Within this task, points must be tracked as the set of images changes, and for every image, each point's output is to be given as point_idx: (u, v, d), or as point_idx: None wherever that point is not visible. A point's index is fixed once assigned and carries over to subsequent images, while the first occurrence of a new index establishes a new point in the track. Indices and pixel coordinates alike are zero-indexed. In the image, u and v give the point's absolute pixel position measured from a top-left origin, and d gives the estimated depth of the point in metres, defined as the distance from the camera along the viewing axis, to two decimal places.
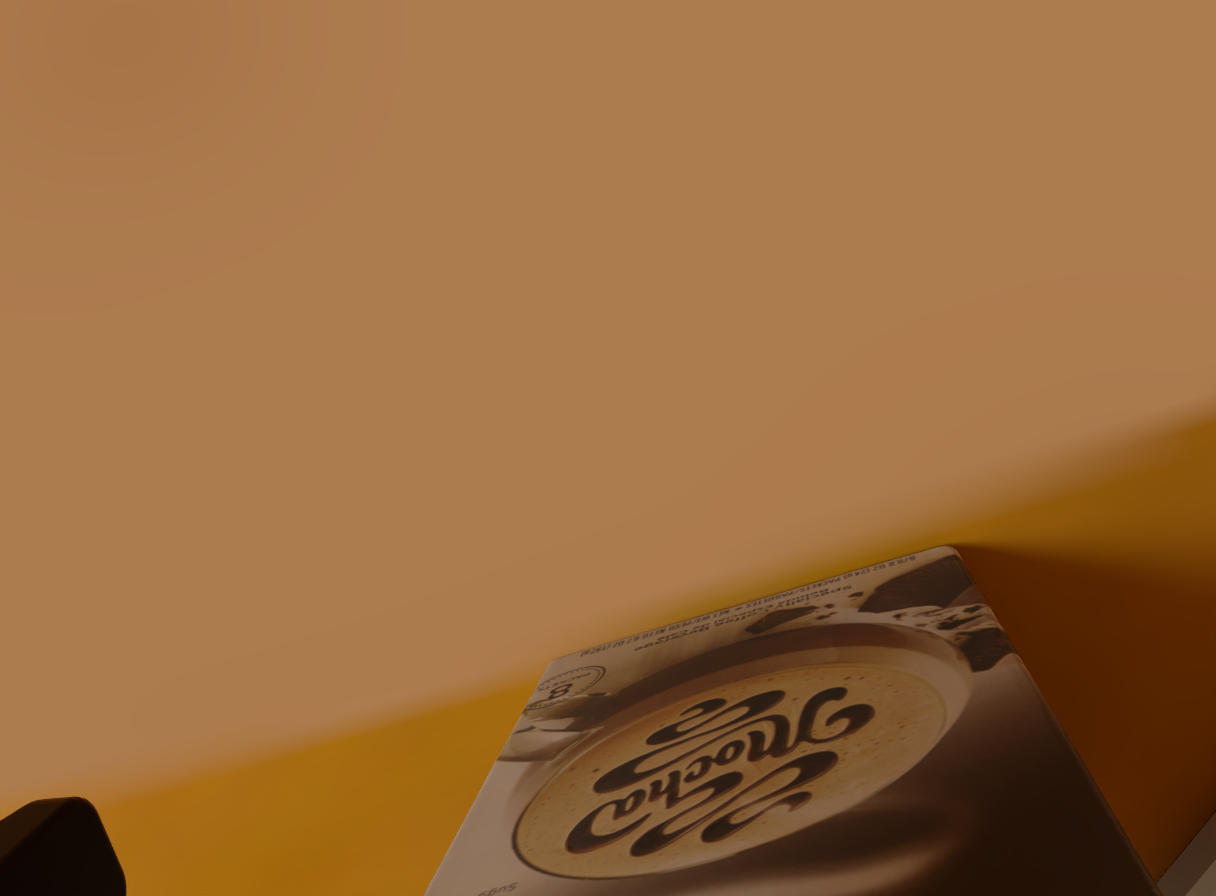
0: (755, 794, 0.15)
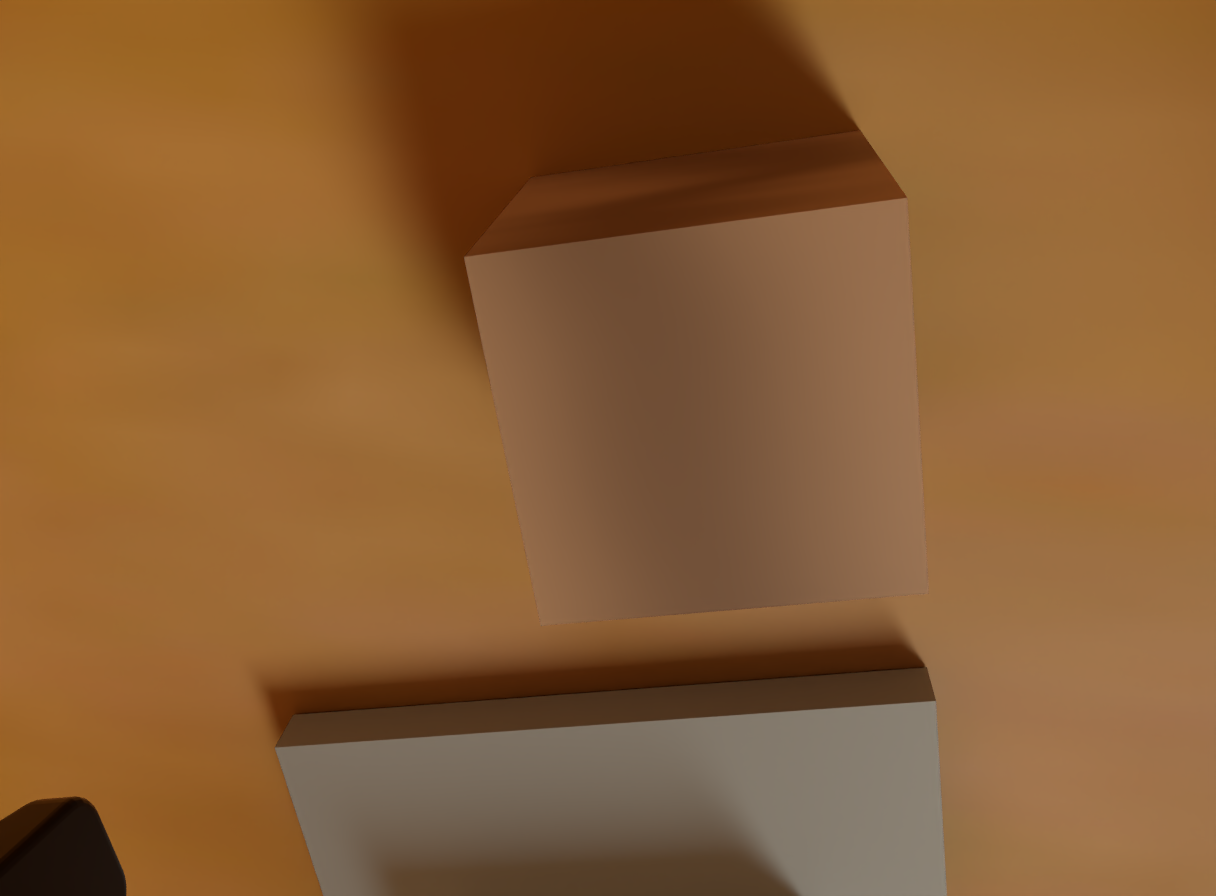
0: None
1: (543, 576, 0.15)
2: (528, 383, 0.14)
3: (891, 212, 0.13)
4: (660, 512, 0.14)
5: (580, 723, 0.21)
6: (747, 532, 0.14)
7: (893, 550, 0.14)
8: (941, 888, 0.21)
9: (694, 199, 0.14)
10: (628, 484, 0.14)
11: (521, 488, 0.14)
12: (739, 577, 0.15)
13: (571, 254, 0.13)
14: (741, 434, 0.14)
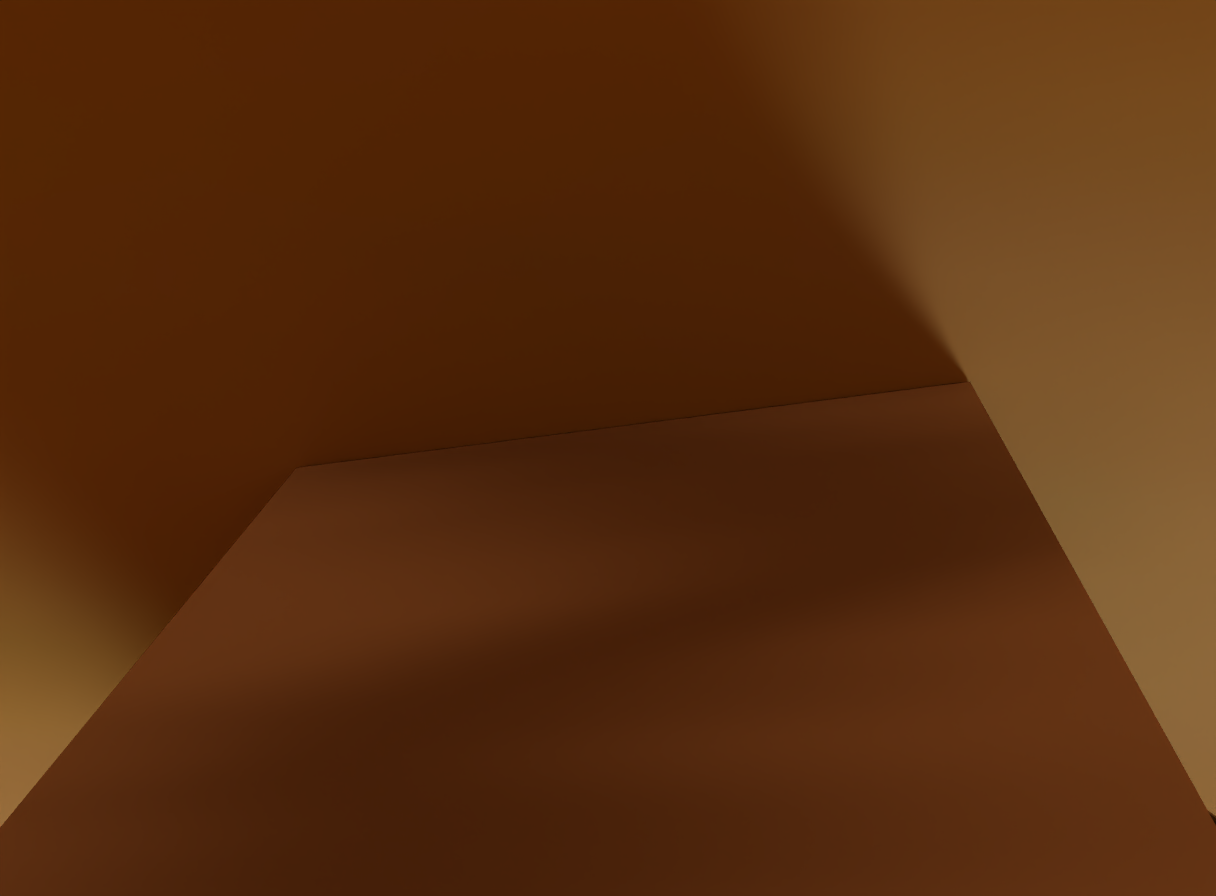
0: None
1: None
2: None
3: None
4: None
5: None
6: None
7: None
8: None
9: (577, 721, 0.05)
10: None
11: None
12: None
13: None
14: None
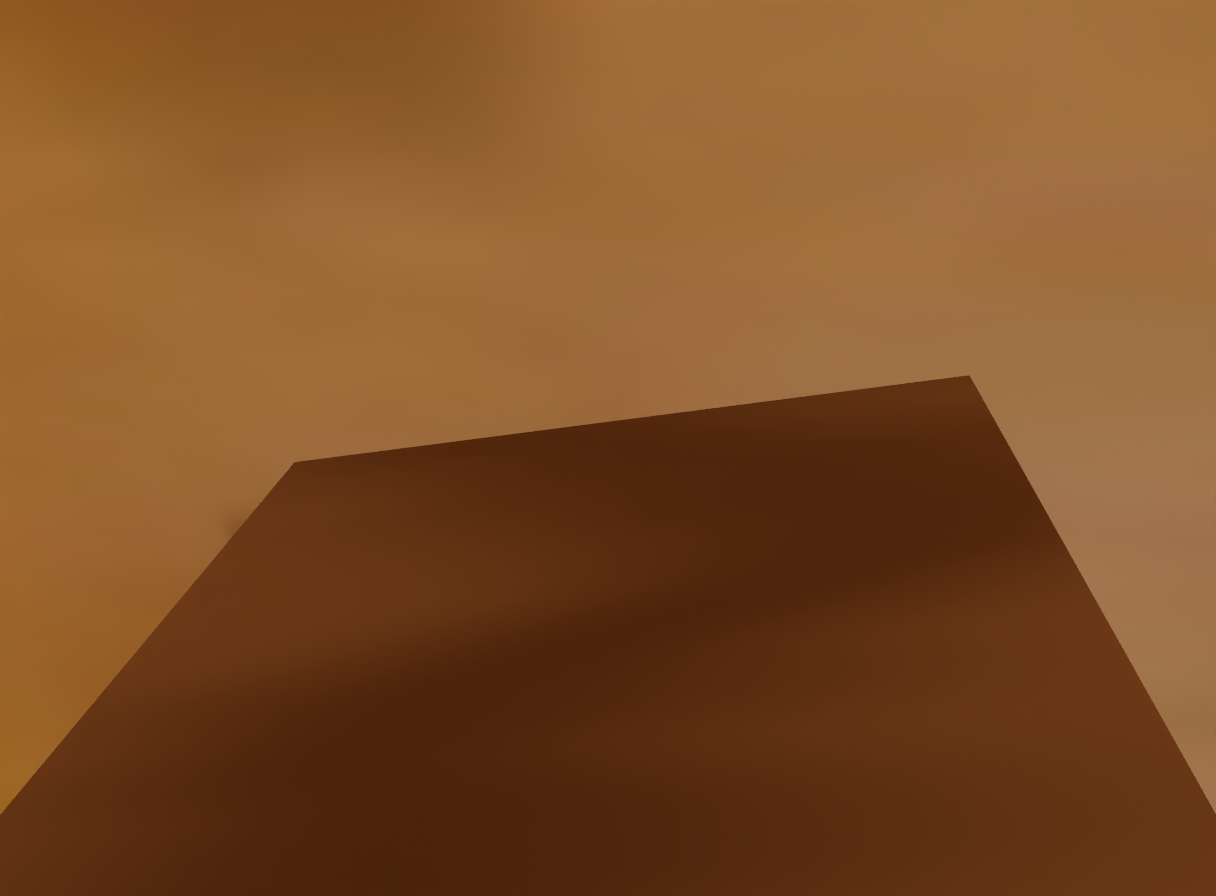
0: None
1: None
2: None
3: None
4: None
5: None
6: None
7: None
8: None
9: (576, 713, 0.05)
10: None
11: None
12: None
13: None
14: None
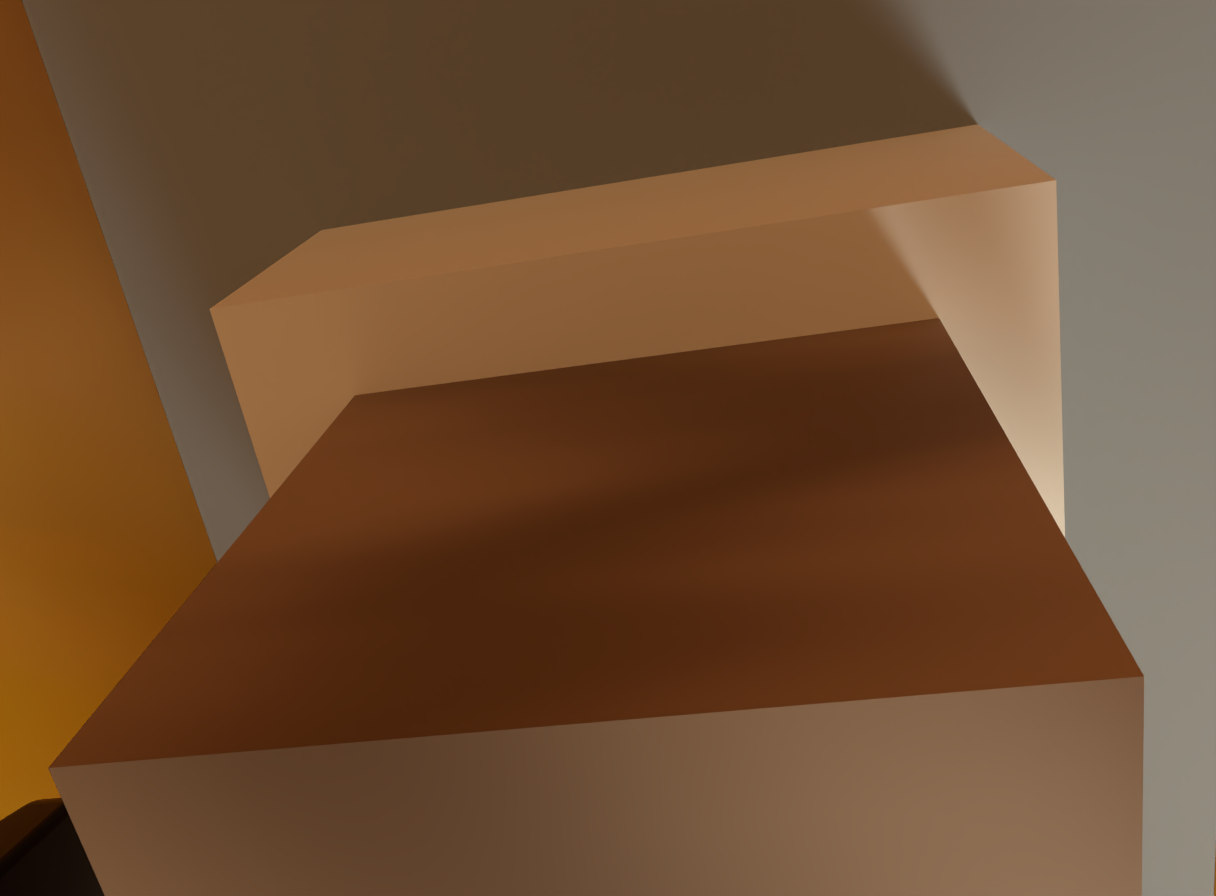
0: None
1: None
2: None
3: (1099, 706, 0.05)
4: None
5: None
6: None
7: None
8: None
9: (614, 559, 0.06)
10: None
11: None
12: None
13: (300, 770, 0.05)
14: None
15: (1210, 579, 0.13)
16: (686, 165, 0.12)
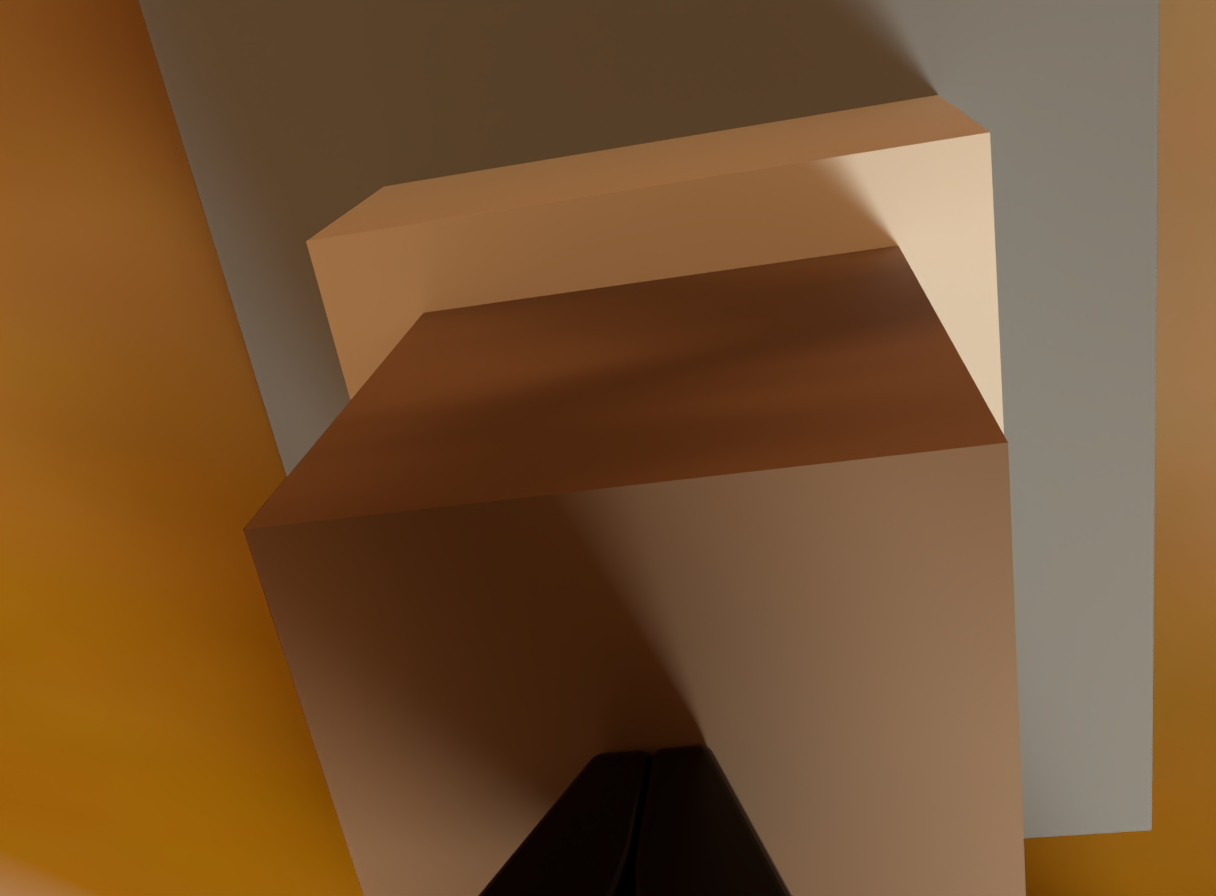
0: None
1: None
2: (366, 721, 0.08)
3: (978, 466, 0.07)
4: None
5: None
6: None
7: None
8: (1150, 31, 0.13)
9: (641, 401, 0.09)
10: None
11: (369, 866, 0.09)
12: None
13: (424, 527, 0.08)
14: None
15: (1142, 488, 0.16)
16: (694, 130, 0.14)
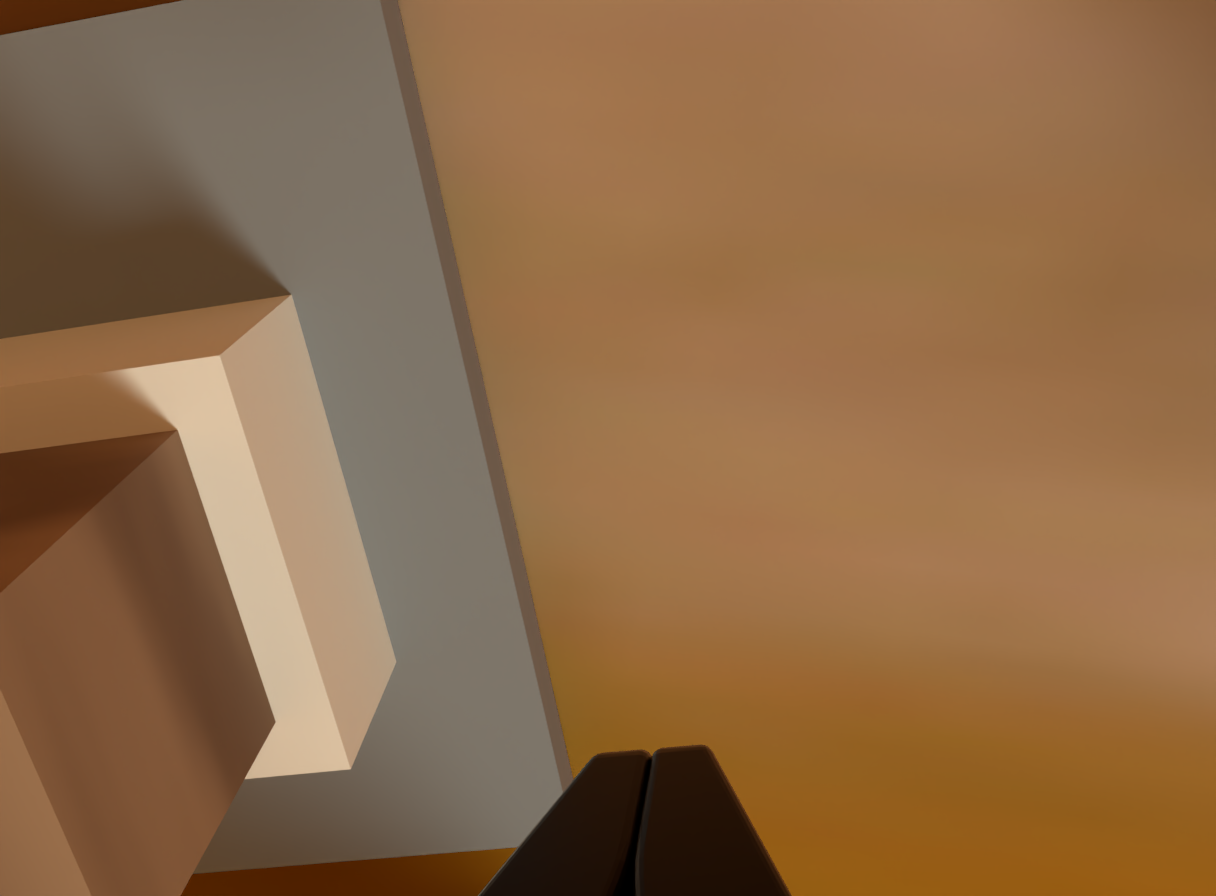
0: None
1: None
2: None
3: None
4: None
5: None
6: None
7: None
8: (432, 253, 0.18)
9: None
10: None
11: None
12: None
13: None
14: None
15: (505, 580, 0.20)
16: (119, 317, 0.19)
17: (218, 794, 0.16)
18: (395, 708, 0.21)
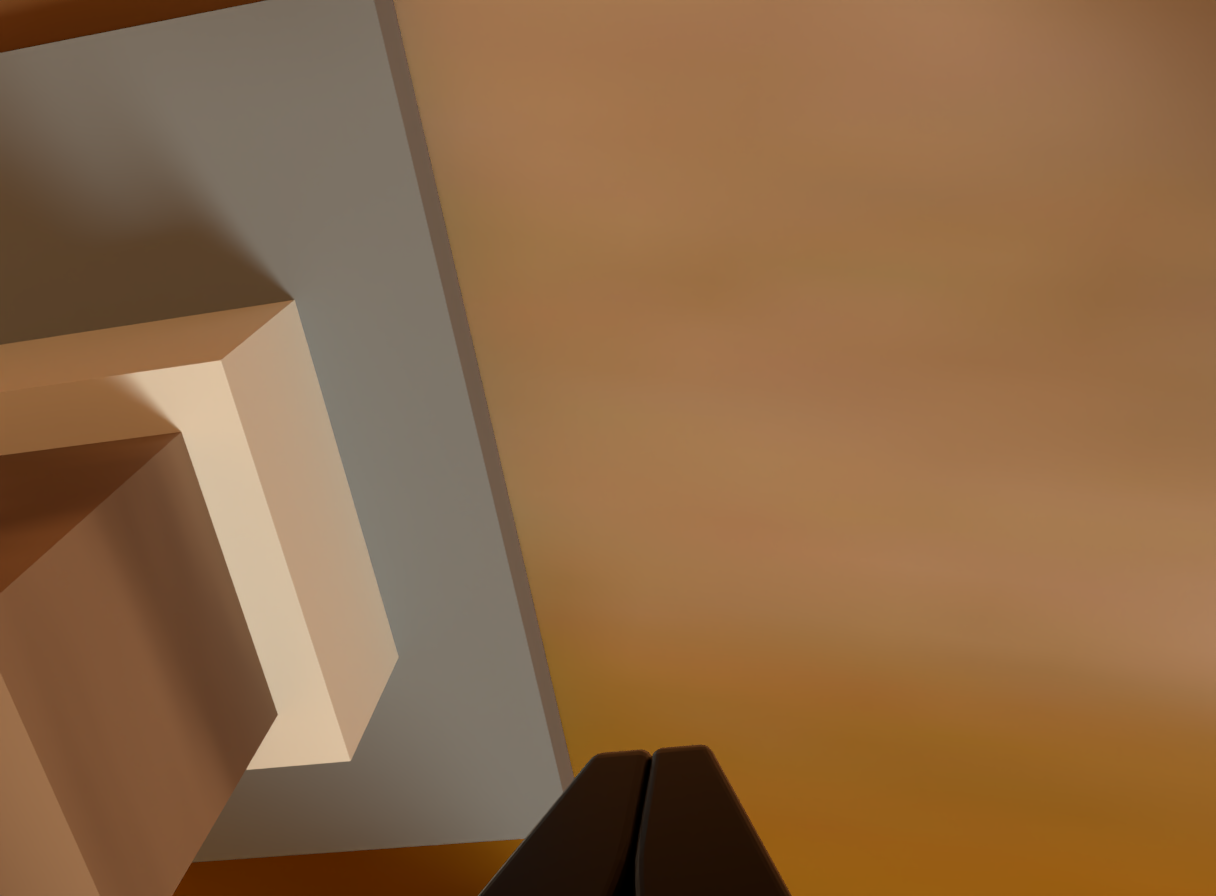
0: None
1: None
2: None
3: None
4: None
5: None
6: None
7: None
8: (430, 259, 0.18)
9: None
10: None
11: None
12: None
13: None
14: None
15: (503, 578, 0.21)
16: (129, 321, 0.19)
17: (219, 783, 0.17)
18: (398, 702, 0.22)
